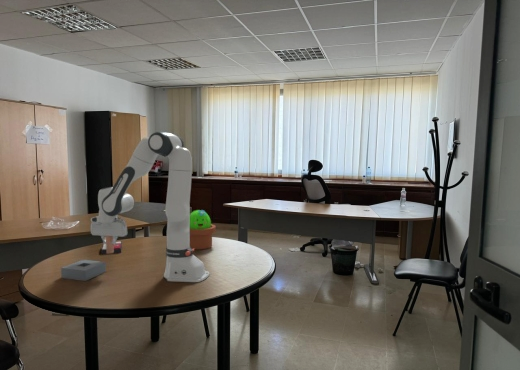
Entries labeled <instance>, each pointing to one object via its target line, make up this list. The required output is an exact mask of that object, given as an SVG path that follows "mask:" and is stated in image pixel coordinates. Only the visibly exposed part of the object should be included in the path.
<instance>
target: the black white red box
mask: <svg viewBox="0 0 520 370" xmlns="http://www.w3.org/2000/svg"><path fill="white" fill-rule="evenodd" d="M122 244H123V243H122V241H116V244H113V246H114V253H110V255H111V254H121V253H122V249H123V248H122V247H123V245H122ZM101 255H107V251H106V244H104V243H102V248H101Z"/></svg>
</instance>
